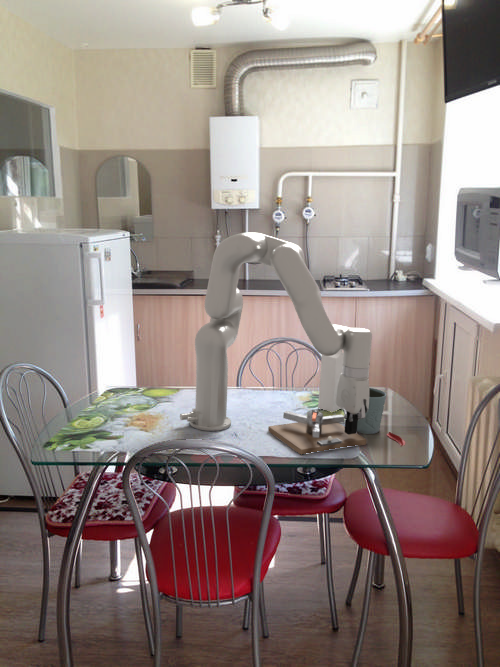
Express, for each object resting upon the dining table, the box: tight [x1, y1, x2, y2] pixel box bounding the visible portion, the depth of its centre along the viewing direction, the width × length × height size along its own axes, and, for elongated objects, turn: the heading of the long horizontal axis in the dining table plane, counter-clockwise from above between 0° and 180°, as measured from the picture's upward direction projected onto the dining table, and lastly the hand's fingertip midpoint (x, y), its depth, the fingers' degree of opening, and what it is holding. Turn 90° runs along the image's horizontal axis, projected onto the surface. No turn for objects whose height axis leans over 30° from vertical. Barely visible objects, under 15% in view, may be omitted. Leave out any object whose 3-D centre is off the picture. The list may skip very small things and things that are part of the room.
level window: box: [317, 438, 342, 446], centre depth 167 cm, size 7×2×1 cm, turn 116°
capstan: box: [282, 409, 346, 438], centre depth 174 cm, size 16×18×6 cm
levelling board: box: [267, 422, 368, 456], centre depth 175 cm, size 22×19×2 cm
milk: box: [317, 349, 344, 412], centre depth 200 cm, size 6×6×22 cm
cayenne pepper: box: [386, 431, 406, 447], centre depth 177 cm, size 12×5×2 cm, turn 176°
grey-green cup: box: [354, 387, 387, 435], centre depth 183 cm, size 10×10×12 cm
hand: (350, 432), depth 171 cm, fingers closed
